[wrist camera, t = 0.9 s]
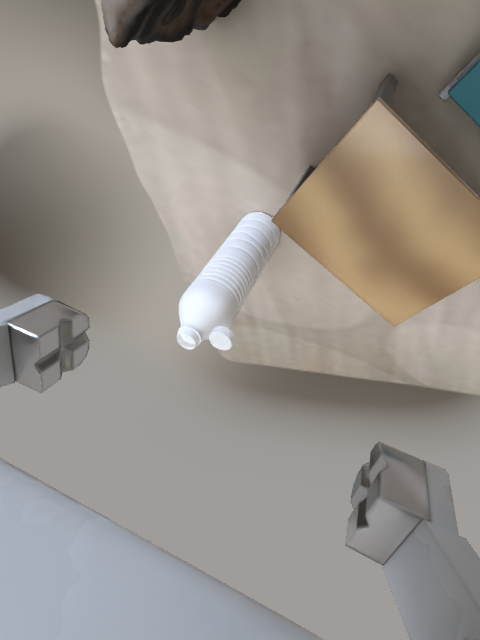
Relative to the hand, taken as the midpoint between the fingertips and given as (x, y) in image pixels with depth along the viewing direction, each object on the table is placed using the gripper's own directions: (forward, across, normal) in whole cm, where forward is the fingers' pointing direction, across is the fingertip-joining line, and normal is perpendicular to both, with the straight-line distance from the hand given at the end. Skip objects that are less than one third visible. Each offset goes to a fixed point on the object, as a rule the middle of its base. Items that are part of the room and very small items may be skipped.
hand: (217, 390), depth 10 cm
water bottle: (+46, +10, +10) cm, 49 cm away
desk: (+44, -4, -2) cm, 44 cm away
